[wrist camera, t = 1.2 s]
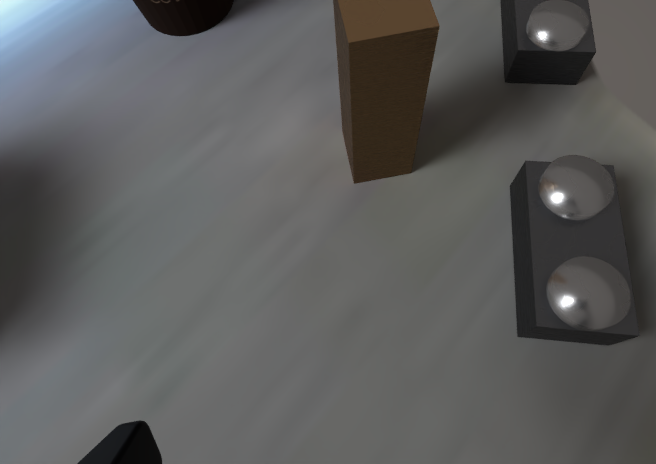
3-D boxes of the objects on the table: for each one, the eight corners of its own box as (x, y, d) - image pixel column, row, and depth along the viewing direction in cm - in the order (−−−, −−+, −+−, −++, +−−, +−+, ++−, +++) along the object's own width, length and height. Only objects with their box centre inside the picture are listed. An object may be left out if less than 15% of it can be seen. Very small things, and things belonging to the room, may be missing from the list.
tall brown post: (411, 173, 25) (439, 26, 15) (354, 183, 25) (348, 42, 15) (396, 121, 26) (414, -42, 17) (342, 131, 26) (331, -26, 17)
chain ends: (608, 345, 20) (649, 332, 17) (517, 336, 21) (542, 322, 18) (563, -13, 29) (585, -62, 26) (499, -14, 30) (514, -62, 27)
